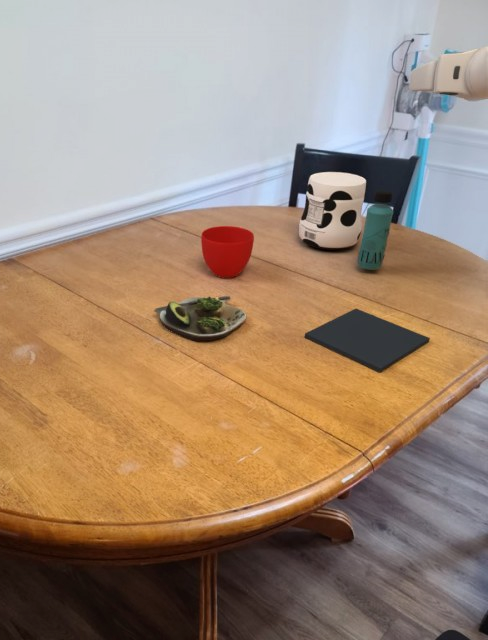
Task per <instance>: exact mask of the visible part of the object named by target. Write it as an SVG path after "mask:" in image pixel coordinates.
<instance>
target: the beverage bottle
mask: <svg viewBox="0 0 488 640" xmlns="http://www.w3.org/2000/svg"><path fill="white" fill-rule="evenodd" d="M392 198H393V192H391V191H390V190H386V189H385V190H383V189H380V190H376V191H375V193H374V196H373V201H375V202H376V203H374V204H372V205H370V206H369V207H368V208H367V210H366V216H365V221H364V226H363V231H362V232H363V233H362V237H361V240H360V245H359V249H358V254H357V259H356V264H357V266H358V267H359V268H361V269H363V270H364V269H365V270H369V271H370V270H373V271H374V270H379V269H380V268H381V267H382V266H383V261H384V260H385V254H386V253H385V252H386V248H387V244H388V243H387V242H388V239H389V237H390V231H391V227H392V226H391V225H392V219H393V215H394V210H393V208H392V207H391V206H390V205H388V204H387V203H392V200H393V199H392Z"/></svg>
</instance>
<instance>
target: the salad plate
mask: <svg viewBox="0 0 488 640" xmlns="http://www.w3.org/2000/svg"><path fill="white" fill-rule="evenodd" d="M230 300H231V296H230V295H224V296H215V297H211V296H208V297H205V296H194V297H192V296H191V297H188V298H186V299H183V300H181V301H180V302H177V301H170V302H168V304H167V305H164V306H160V307H157V308H154V310H153V312H155V313H157V315H158V318H159V321H160V323H161V324H162V326H163V327H164V328H165V329H166V328H167V329H168V330H167V329H166V330H167V331H169V330H170V331H169V332H171V331H172V332H171V333H173V334H175V333H176V334H175V335H177V334H178V335H177V336H179V335H180V336H179V337H181V336H182V337H181V338H183V337H184V339H186V338H187V339H186V340H189V339H190V341H195V342H204V343H206V342H213V341H216V340H219V339H221V338H223V337H225V336H226V337H227V336H228V335H229V334H230V333H231V332H232V331H234V330H235V329H237V328H239V327H240V326H241V325H242V324H243V323H244V322H245V321H246V319H247V314H246V313H245V311H244V310H243V309H242V308H239V307H236V306H232V305H228V304H226V303H227V302H228V301H230Z"/></svg>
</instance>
